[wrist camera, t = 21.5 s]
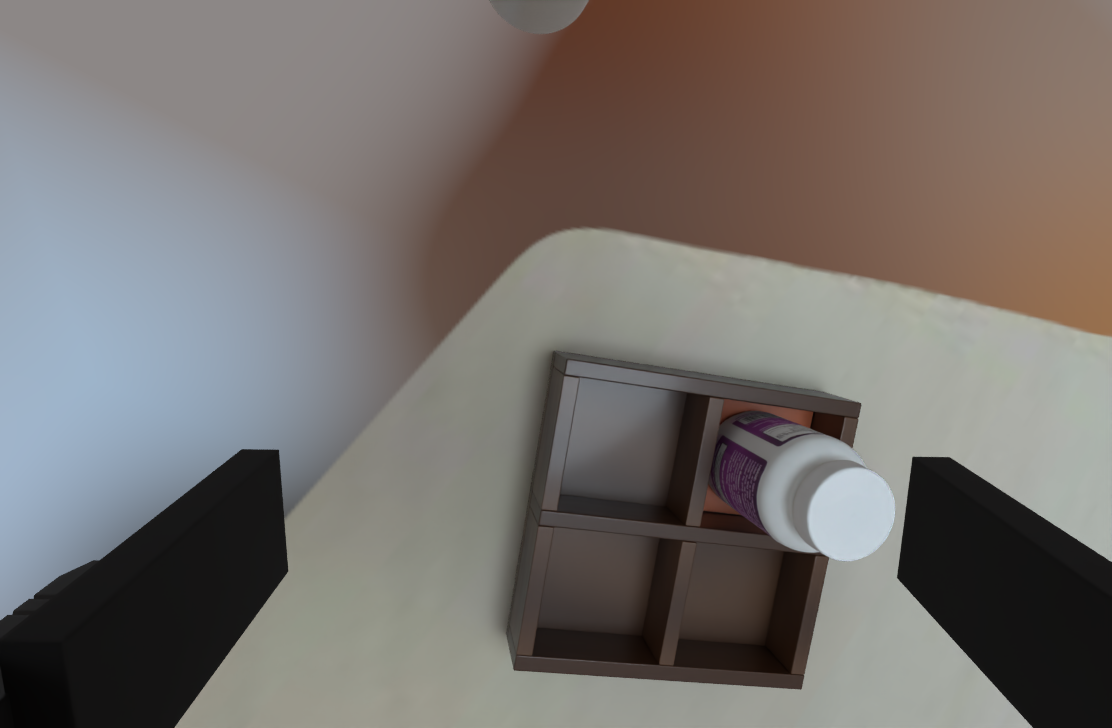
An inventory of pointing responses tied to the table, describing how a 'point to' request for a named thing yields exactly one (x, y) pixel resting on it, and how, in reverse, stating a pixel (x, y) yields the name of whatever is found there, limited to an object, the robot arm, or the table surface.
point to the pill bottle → (801, 486)
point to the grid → (659, 533)
